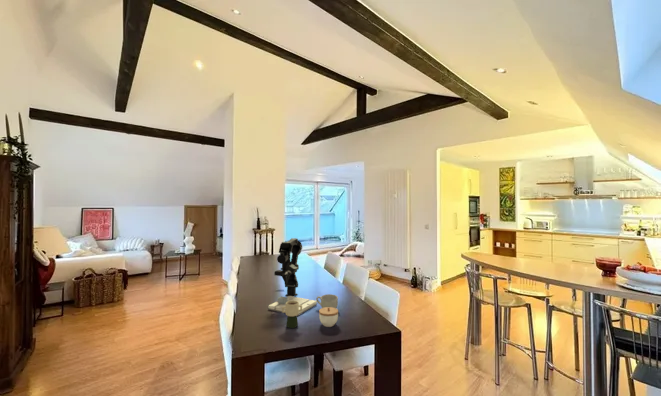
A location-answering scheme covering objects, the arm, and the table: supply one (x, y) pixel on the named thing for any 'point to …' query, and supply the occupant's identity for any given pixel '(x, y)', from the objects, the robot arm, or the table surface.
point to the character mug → (292, 313)
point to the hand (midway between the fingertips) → (286, 283)
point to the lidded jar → (328, 316)
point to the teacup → (328, 301)
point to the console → (304, 302)
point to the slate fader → (282, 300)
